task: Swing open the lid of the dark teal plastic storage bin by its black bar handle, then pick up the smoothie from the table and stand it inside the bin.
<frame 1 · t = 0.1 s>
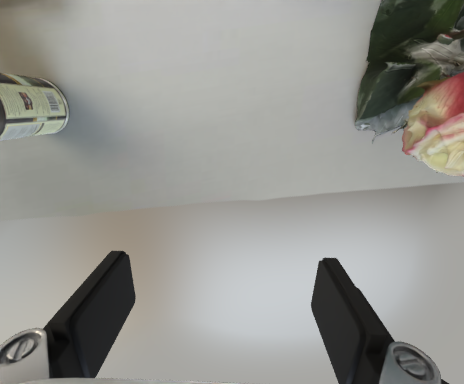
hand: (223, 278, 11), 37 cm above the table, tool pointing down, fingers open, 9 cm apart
rose bouquet: (432, 74, 41), on the table
coffee can: (43, 107, 44), on the table
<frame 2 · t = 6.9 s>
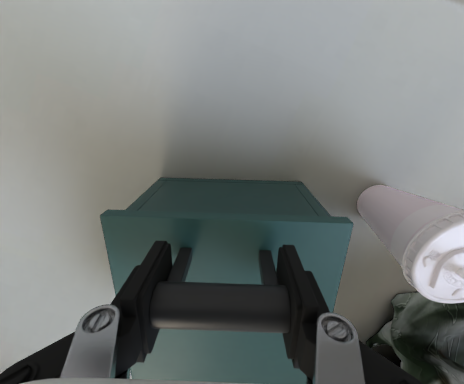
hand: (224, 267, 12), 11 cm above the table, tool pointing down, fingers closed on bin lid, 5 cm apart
bin lid: (222, 360, 13), point 12 cm above the table, hinge at 0.0°, touching gripper
bin: (229, 248, 25), on the table
rose bouquet: (447, 346, 30), on the table
smoothie: (374, 201, 23), on the table
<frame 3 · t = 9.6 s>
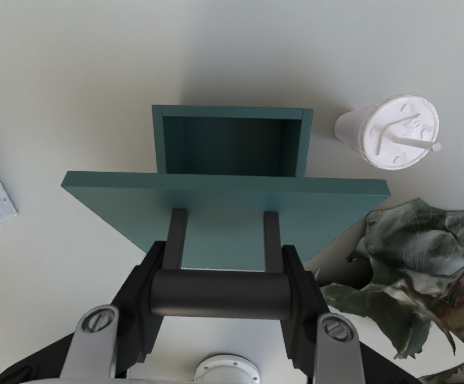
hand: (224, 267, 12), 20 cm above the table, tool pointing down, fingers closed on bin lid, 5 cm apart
bin lid: (226, 274, 16), point 17 cm above the table, hinge at 41.1°, touching gripper
bin: (232, 170, 31), on the table
rose bouquet: (415, 263, 35), on the table
smoothie: (348, 127, 29), on the table
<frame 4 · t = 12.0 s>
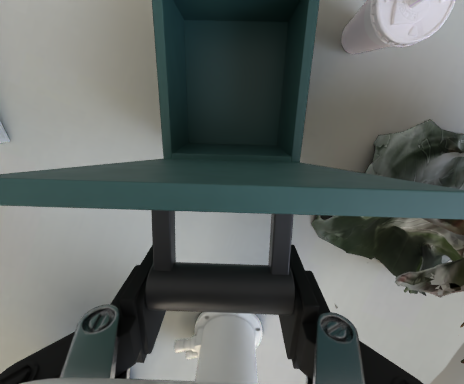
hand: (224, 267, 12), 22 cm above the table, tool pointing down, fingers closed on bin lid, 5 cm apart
bin lid: (227, 207, 15), point 18 cm above the table, hinge at 80.9°, touching gripper
bin: (234, 88, 29), on the table
rose bouquet: (425, 196, 34), on the table
smoothie: (356, 37, 28), on the table
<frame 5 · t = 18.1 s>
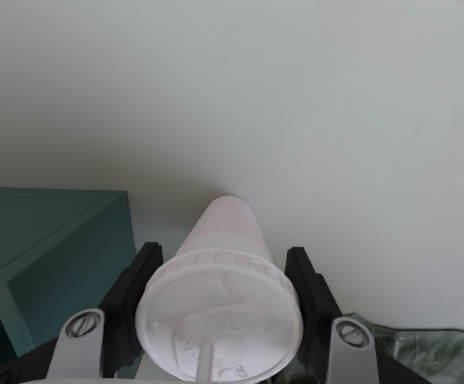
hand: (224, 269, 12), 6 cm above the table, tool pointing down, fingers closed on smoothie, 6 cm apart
bin: (60, 274, 20), on the table
smoothie: (229, 216, 18), on the table, touching gripper
when the fingers open (7 cm above the table, at t = 25.5 s): smoothie stays where it is, resting on bin.
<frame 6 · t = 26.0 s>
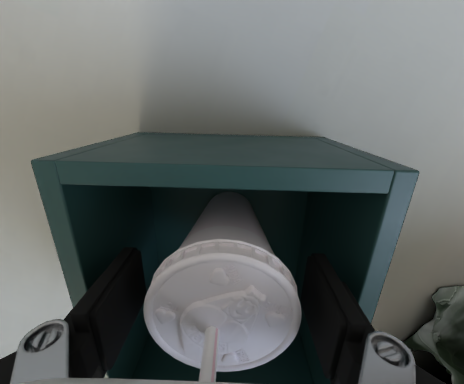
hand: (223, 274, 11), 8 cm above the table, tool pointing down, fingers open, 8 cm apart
bin: (228, 228, 20), on the table
smoothie: (229, 212, 18), point 1 cm above the table, touching bin
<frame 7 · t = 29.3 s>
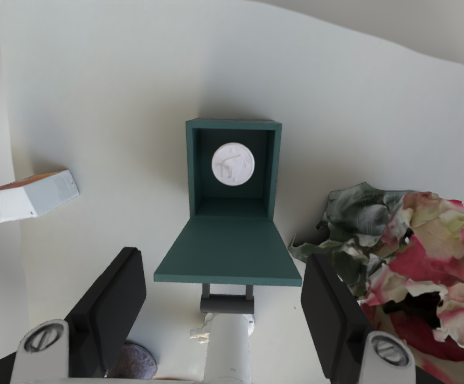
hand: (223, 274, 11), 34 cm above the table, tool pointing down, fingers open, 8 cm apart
bin lid: (229, 260, 30), point 18 cm above the table, hinge at 80.5°
decorative urn: (133, 358, 64), on the table
bin: (233, 162, 44), on the table
rose bouquet: (366, 230, 49), on the table
smoothie: (233, 153, 43), point 1 cm above the table, touching bin
small box: (58, 184, 47), on the table
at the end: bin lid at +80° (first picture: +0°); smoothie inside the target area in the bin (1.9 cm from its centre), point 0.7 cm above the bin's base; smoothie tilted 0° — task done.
